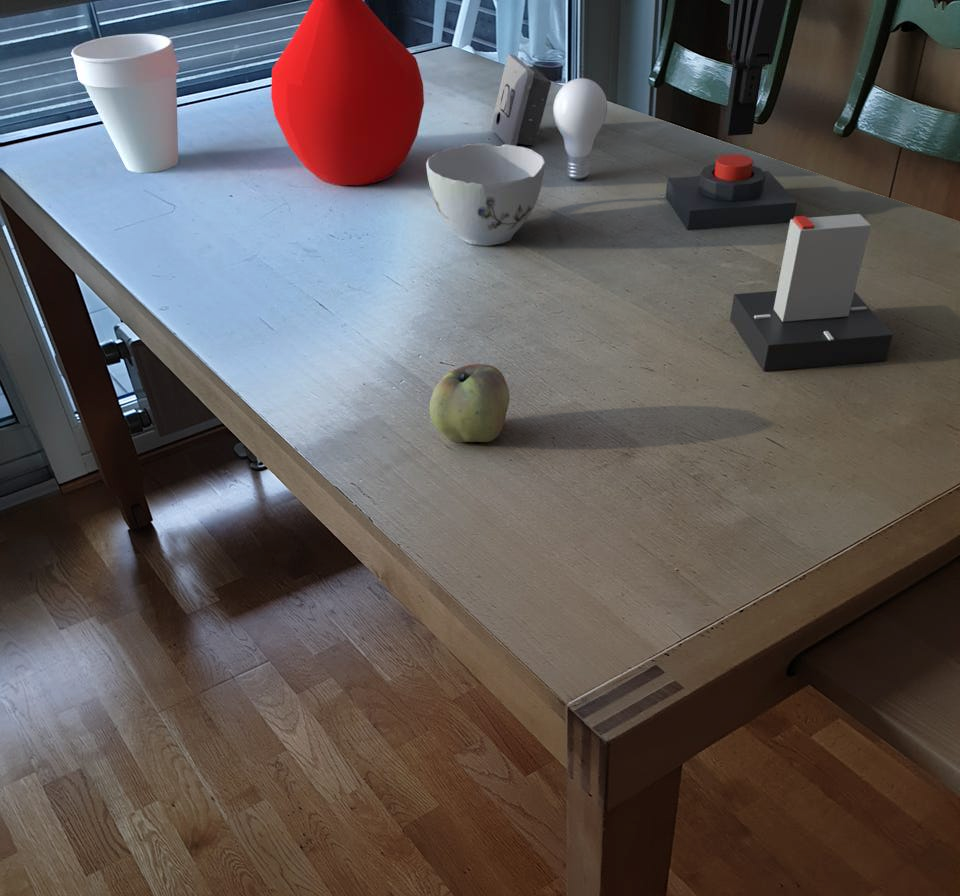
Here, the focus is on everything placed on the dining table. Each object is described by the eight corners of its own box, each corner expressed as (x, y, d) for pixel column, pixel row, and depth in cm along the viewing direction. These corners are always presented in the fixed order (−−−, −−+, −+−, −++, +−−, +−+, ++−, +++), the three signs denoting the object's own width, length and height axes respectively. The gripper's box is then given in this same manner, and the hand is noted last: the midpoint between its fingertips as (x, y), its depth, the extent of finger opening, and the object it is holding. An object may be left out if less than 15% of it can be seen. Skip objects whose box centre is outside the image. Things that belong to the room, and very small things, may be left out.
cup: (177, 181, 122) (148, 60, 113) (88, 179, 124) (52, 59, 115) (212, 149, 131) (188, 33, 121) (128, 147, 133) (98, 32, 123)
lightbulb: (541, 181, 118) (542, 81, 110) (572, 166, 122) (575, 68, 114) (582, 192, 115) (587, 90, 107) (613, 177, 118) (619, 76, 111)
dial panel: (842, 309, 92) (849, 282, 90) (886, 361, 84) (894, 333, 83) (729, 318, 91) (733, 291, 89) (763, 372, 84) (768, 344, 82)
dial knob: (838, 304, 87) (860, 210, 81) (848, 316, 85) (871, 222, 79) (773, 309, 87) (790, 215, 81) (782, 322, 85) (801, 227, 79)
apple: (537, 446, 77) (538, 379, 73) (440, 463, 76) (435, 396, 71) (517, 408, 81) (516, 343, 77) (424, 423, 80) (418, 358, 76)
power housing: (765, 190, 114) (771, 154, 111) (793, 222, 107) (800, 185, 104) (665, 197, 113) (668, 161, 110) (687, 231, 106) (691, 193, 103)
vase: (275, 158, 127) (227, -128, 106) (410, 141, 131) (388, -141, 110) (296, 208, 115) (245, -107, 94) (444, 187, 118) (427, -121, 97)
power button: (744, 169, 109) (746, 152, 108) (755, 181, 106) (758, 165, 105) (709, 171, 109) (711, 155, 107) (719, 184, 106) (722, 167, 105)
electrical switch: (490, 130, 133) (495, 53, 126) (525, 129, 134) (532, 53, 128) (509, 152, 126) (515, 72, 120) (546, 151, 128) (554, 72, 121)
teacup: (556, 252, 103) (557, 174, 98) (441, 265, 102) (436, 187, 96) (524, 201, 114) (524, 128, 108) (420, 213, 112) (414, 139, 107)
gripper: (845, -141, 83) (791, 150, 100) (794, -157, 92) (753, 112, 109) (761, -137, 83) (721, 155, 99) (718, -153, 92) (688, 116, 109)
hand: (737, 132), depth 104 cm, fingers closed
